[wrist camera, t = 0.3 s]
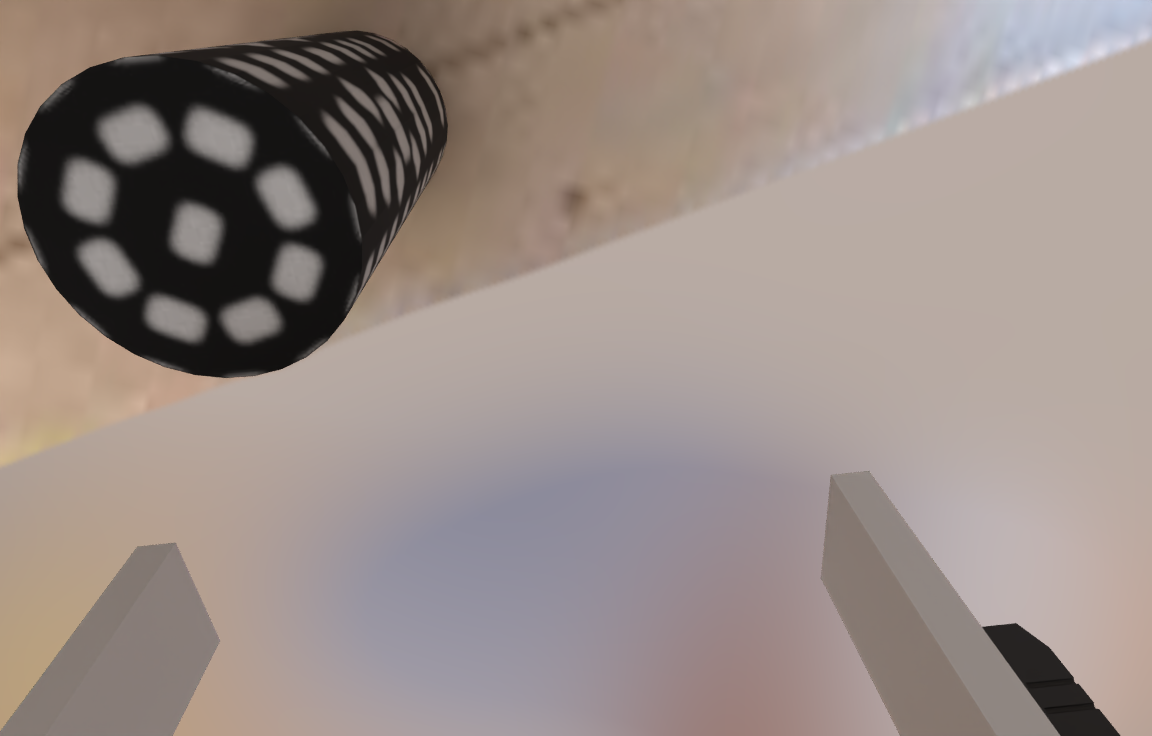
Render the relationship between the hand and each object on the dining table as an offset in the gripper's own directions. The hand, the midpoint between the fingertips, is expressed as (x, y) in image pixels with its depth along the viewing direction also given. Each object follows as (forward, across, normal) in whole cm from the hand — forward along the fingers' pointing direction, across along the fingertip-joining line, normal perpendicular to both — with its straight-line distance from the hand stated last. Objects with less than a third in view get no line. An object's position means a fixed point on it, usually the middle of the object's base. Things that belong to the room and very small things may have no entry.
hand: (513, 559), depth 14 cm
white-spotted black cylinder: (+27, -8, +6) cm, 29 cm away
